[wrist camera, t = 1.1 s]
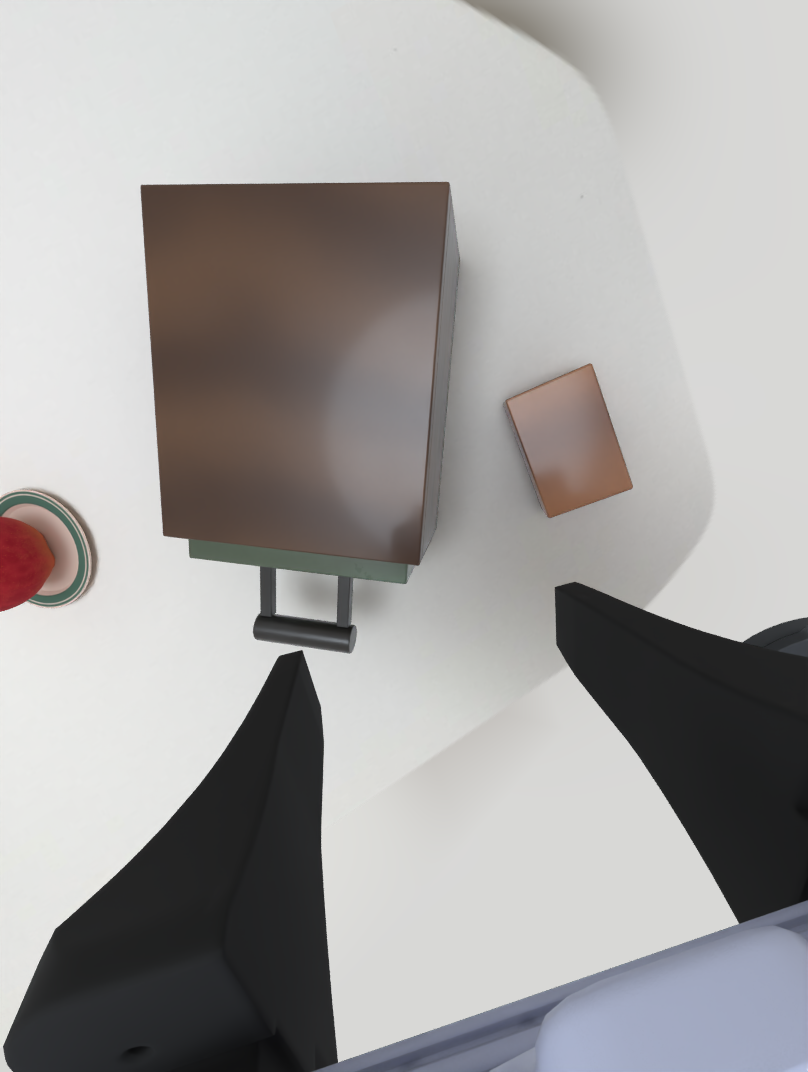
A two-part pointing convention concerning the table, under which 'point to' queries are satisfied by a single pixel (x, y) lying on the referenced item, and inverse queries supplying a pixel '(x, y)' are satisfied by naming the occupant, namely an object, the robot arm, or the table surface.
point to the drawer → (268, 559)
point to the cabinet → (302, 362)
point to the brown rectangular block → (568, 442)
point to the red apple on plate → (40, 552)
